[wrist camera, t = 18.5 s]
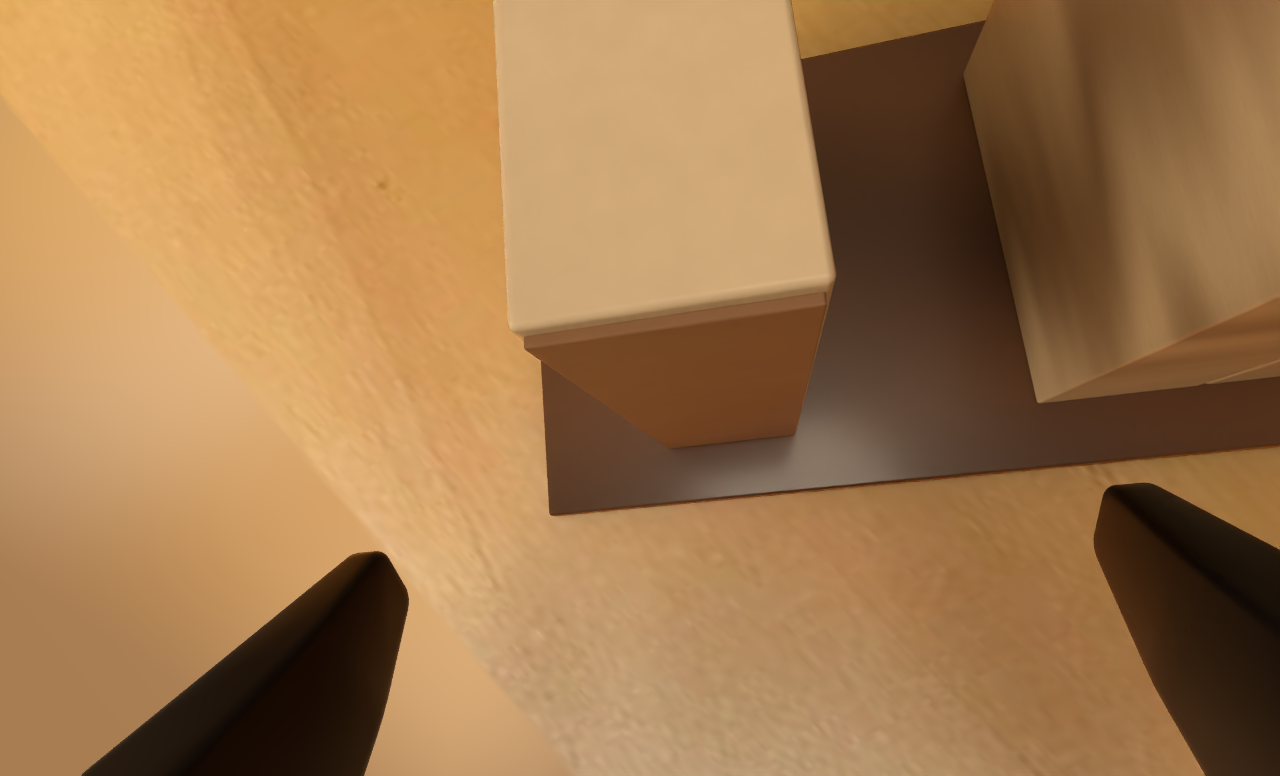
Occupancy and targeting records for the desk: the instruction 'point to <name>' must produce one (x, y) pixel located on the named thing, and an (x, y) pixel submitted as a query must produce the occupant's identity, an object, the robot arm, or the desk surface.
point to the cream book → (664, 209)
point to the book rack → (1013, 261)
